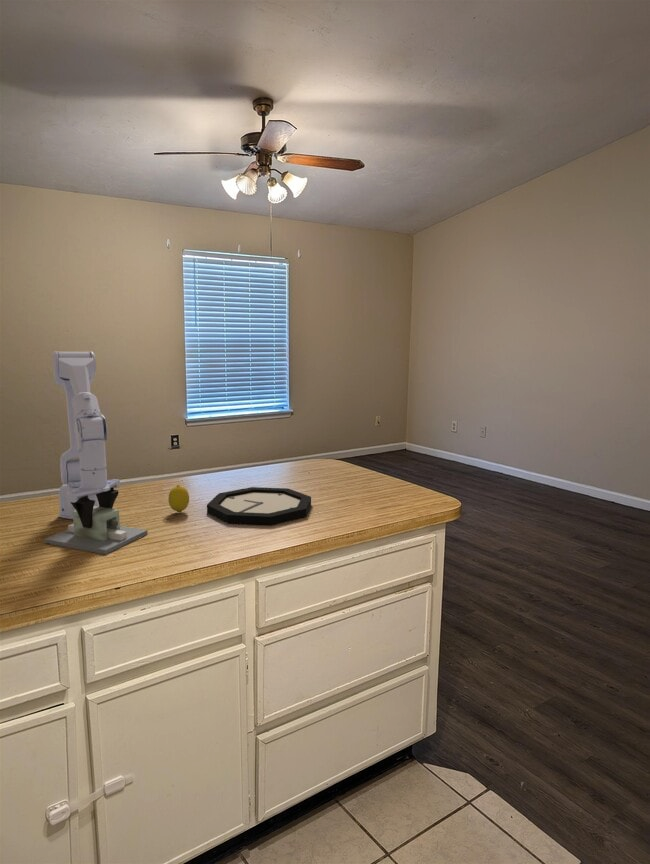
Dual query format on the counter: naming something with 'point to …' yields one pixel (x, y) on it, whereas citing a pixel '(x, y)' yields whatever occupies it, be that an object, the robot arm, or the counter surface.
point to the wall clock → (259, 506)
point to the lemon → (178, 498)
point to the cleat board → (93, 545)
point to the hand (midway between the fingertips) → (96, 523)
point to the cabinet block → (97, 523)
